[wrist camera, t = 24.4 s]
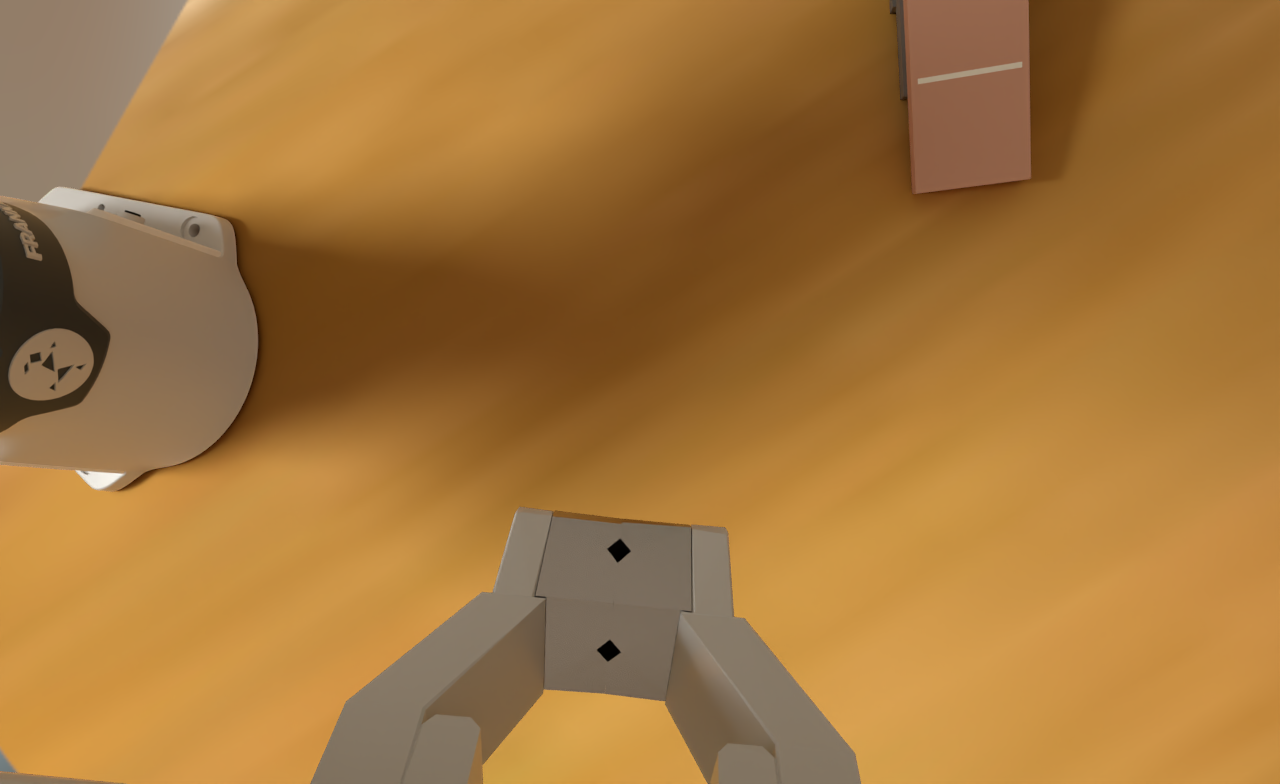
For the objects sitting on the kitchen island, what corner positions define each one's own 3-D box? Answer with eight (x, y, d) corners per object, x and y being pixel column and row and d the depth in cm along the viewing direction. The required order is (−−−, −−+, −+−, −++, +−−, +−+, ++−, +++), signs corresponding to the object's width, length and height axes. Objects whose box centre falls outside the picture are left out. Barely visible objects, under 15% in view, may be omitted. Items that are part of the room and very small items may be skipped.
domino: (1031, 178, 34) (1027, -61, 32) (916, 193, 36) (905, -36, 34) (1022, 179, 36) (1018, -49, 34) (912, 194, 37) (901, -26, 35)
